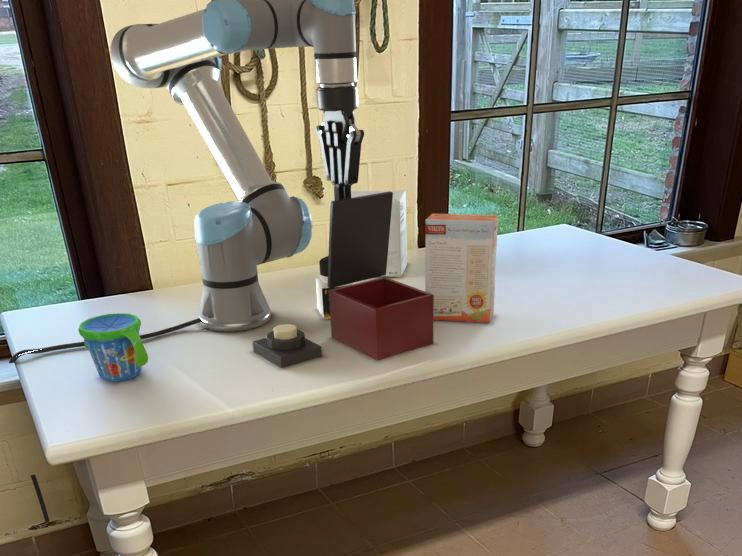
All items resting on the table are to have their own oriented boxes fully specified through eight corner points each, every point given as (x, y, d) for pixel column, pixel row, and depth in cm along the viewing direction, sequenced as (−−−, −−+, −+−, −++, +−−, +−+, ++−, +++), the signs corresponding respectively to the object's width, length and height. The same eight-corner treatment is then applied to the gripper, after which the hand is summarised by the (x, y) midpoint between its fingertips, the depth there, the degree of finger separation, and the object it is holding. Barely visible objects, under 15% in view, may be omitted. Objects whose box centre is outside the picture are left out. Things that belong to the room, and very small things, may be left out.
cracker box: (494, 315, 170) (499, 213, 158) (489, 324, 165) (494, 220, 154) (430, 311, 173) (431, 211, 162) (424, 320, 168) (424, 218, 157)
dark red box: (433, 343, 156) (433, 294, 151) (377, 360, 149) (375, 309, 144) (386, 323, 167) (384, 276, 162) (331, 338, 160) (328, 290, 155)
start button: (301, 337, 151) (300, 328, 150) (281, 342, 149) (280, 333, 148) (289, 331, 154) (288, 322, 153) (270, 336, 152) (269, 327, 151)
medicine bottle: (323, 319, 170) (320, 263, 163) (317, 309, 176) (313, 255, 169) (355, 316, 171) (353, 260, 165) (348, 306, 177) (345, 251, 171)
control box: (322, 357, 152) (320, 337, 150) (281, 368, 147) (279, 348, 145) (292, 341, 159) (291, 322, 157) (253, 351, 155) (251, 332, 153)
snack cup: (73, 373, 148) (60, 320, 142) (123, 356, 154) (112, 305, 149) (118, 395, 139) (105, 340, 133) (168, 377, 145) (158, 323, 140)
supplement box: (408, 263, 206) (407, 189, 196) (401, 277, 194) (400, 200, 185) (343, 262, 208) (339, 189, 198) (333, 276, 197) (328, 200, 187)
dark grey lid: (393, 192, 150) (390, 191, 151) (332, 203, 144) (330, 201, 144) (386, 275, 161) (383, 273, 162) (329, 288, 154) (327, 286, 155)
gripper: (374, 85, 139) (378, 223, 152) (334, 82, 148) (341, 212, 161) (339, 88, 136) (346, 230, 148) (300, 84, 145) (310, 218, 157)
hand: (343, 221), depth 155 cm, fingers closed
